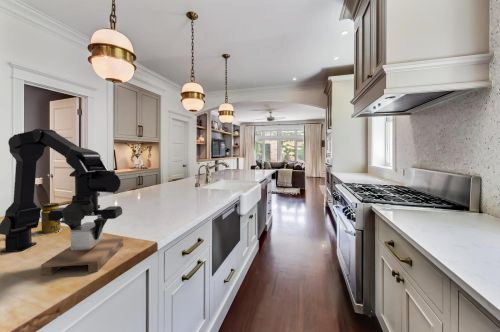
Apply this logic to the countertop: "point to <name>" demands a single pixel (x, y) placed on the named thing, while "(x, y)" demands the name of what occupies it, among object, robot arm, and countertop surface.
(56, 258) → the stand
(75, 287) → the countertop surface
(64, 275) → the countertop surface
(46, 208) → the condiment
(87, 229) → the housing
